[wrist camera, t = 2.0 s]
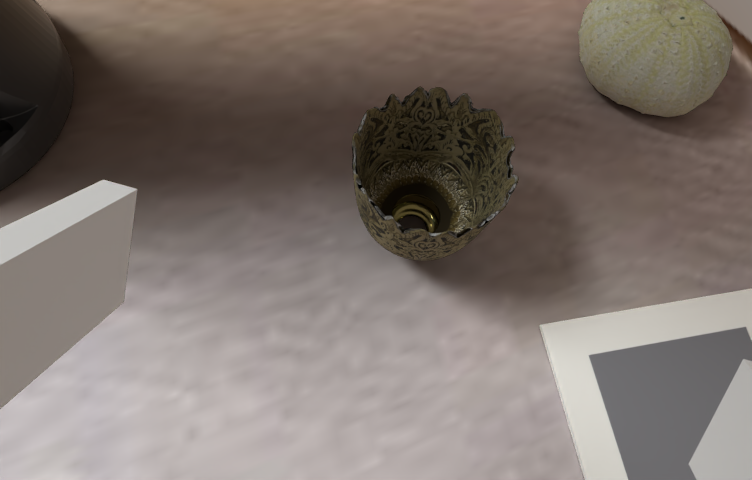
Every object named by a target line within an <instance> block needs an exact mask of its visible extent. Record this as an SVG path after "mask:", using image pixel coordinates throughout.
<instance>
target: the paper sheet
mask: <svg viewBox="0 0 752 480" xmlns="http://www.w3.org/2000/svg"><path fill="white" fill-rule="evenodd" d="M539 327H540V331H541V334H542V337H543V341H544V344H545V347H546V351H547V354H548V358H549V361H550V364H551V368H552V371H553V375H554V378H555V381H556V385H557V388H558V391H559V395H560V398H561V402H562V405H563V408H564V412H565V415H566V419H567V422H568V425H569V429H570V432H571V436H572V439H573V442H574V446H575V449H576V452H577V456H578V459H579V463H580V466H581V469H582V473H583V476H584V480H696V478H695V476H694V474H693V472H692V470H691V468H690V466H689V462H690V460H691V458H692V456H693V454H694V453H695V451H696V449H697V447H698V445H699V443H700V441H701V439H702V437H703V435H704V433H705V431H706V429H707V428H708V426H709V424H710V422H711V420H712V418H713V416H714V414H715V412H716V410H717V408H718V406H719V405H720V403H721V401H722V399H723V397H724V395H725V393H726V391H727V389H728V387H729V385H730V383H731V381H732V380H733V378H734V376H735V374H736V372H737V370H738V368H739V366H740V364H741V362H742V360H743V359H746V360H749V361H752V288H751V289H745V290H739V291H734V292H728V293H722V294H716V295H710V296H704V297H699V298H693V299H687V300H681V301H675V302H669V303H663V304H658V305H652V306H646V307H640V308H634V309H628V310H623V311H617V312H611V313H605V314H599V315H593V316H588V317H582V318H576V319H570V320H564V321H558V322H553V323H547V324H541V325H540V326H539Z"/></svg>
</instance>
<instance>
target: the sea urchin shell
mask: <svg viewBox="0 0 752 480" xmlns="http://www.w3.org/2000/svg"><path fill="white" fill-rule="evenodd" d="M716 13H717V11H715V10H713V9H712V8H711V7H710V6H708V5H707V4H706V3H705V2H704V1H703V0H593V1H591V3H590V4H588V7H587V8H585V12H584V13H583V14H584V15H583V18H582V23H581V26H580V30H579V32H578V35H579V42H580V43H579V47H580V56H579V57H580V58H581V59H580V62H581V63H582V65H583V68H584V70H585V73H586V76H587V78H588V80H589V82H590V83H591V84H592V85H593V86H594V87H595V88H596V89H597V91H598V92H600V93H602V94H603V95H605V96H607V97H609V98H610V99H612V100H613V101H615V102H616V103H617V104H621V105H624V106H627V107H630V108H633V109H635V110H636V111H639V112H641V113H642V114H644V113H646V114H650V115H657V116H662V117H671V116H678V115H685V114H686V113H689V112H690V111H692V110H693V109H695V108H696V107H697V106H698V105H700V104H702V103H703V102H705V101H708V99H709V98H710V97H712V96H713V93H714V91H715V90H716V89H717V87H718V86H719V84H720V83H721V81H722V80H723V78H724V77H725V76H726V75H727V73H726V72H727V70H728V69H729V63H730V57H731V52H732V50H733V48H732V47H733V45H732V39H731V37H730V34H729V31H728V29H727V27H726V26H725V25H724V23H723V22H722V20H721V19H720V18H719V17H718V15H717V14H716Z"/></svg>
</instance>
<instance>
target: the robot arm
mask: <svg viewBox="0 0 752 480" xmlns="http://www.w3.org/2000/svg"><path fill="white" fill-rule="evenodd" d="M73 87H74V79H73V70H72V65H71V61H70V57H69V55H68V52H67V50H66V48H65V46H64V44H63V42H62V40H61V38H60V36H59V34H58V33H57V31H56V29H55V27H54V25H53V23H52V21H51V20H50V18H49V17H48V15H47V14H46V13H45V11H44V10H43V9H42V8H41V6H40V5H39V4H38V3H37V2H36V1H35V0H0V190H2V189H3V188H5V187H6V186H8V185H9V184H11V183H12V182H14V181H15V180H17V179H18V178H19V177H21V176H22V175H23V174H24V173H26V172H27V171H28V170H29V169H30V168H31V167H32V166H33V165H34V164H36V163H37V161H38V160H39V159H40V158H41V157H42V156H43V155H44V154H45V153H46V151H47V150H48V149H49V148H50V146H51V145H52V144H53V142H54V141H55V139H56V138H57V136H58V134H59V133H60V131H61V129H62V127H63V125H64V123H65V121H66V118H67V116H68V113H69V110H70V106H71V102H72V97H73ZM136 197H137V189H135V188H132V187H128V186H125V185H121V184H117V183H114V182H110V181H107V180H101V181H99V182H97V183H95V184H93V185H91V186H89V187H86V188H84V189H82V190H80V191H78V192H76V193H74V194H72V195H70V196H67V197H65V198H63V199H61V200H59V201H57V202H55V203H53V204H51V205H48V206H46V207H44V208H42V209H40V210H38V211H36V212H34V213H32V214H29V215H27V216H25V217H23V218H21V219H19V220H17V221H15V222H13V223H10V224H8V225H6V226H4V227H2V228H0V409H1V408H2V407H3V406H4V405H6V404H7V403H8V402H9V401H10V400H11V399H12V398H14V397H15V396H16V395H17V394H18V393H19V392H21V391H22V390H23V389H24V388H25V387H26V386H27V385H29V384H30V383H31V382H32V381H33V380H34V379H36V378H37V377H38V376H39V375H40V374H41V373H43V372H44V371H45V370H46V369H47V368H48V367H49V366H51V365H52V364H53V363H54V362H55V361H56V360H58V359H59V358H60V357H61V356H62V355H63V354H64V353H66V352H67V351H68V350H69V349H70V348H71V347H73V346H74V345H75V344H76V343H77V342H78V341H80V340H81V339H82V338H83V337H84V336H85V335H86V334H88V333H89V332H90V331H91V330H92V329H93V328H95V327H96V326H97V325H98V324H99V323H100V322H101V321H103V320H104V319H105V318H106V317H107V316H108V315H110V314H111V313H112V312H113V311H114V310H115V309H116V308H118V307H119V306H120V305H121V304H122V303H123V302H124V296H125V288H126V280H127V271H128V263H129V255H130V247H131V238H132V230H133V222H134V214H135V205H136ZM689 466H690V468H691V470H692V472H693V474H694V476H695V478H696V480H752V361H749V360H746V359H743V360H742V362H741V364H740V366H739V368H738V370H737V372H736V374H735V376H734V378H733V380H732V381H731V383H730V385H729V387H728V389H727V391H726V393H725V395H724V397H723V399H722V401H721V403H720V405H719V406H718V408H717V410H716V412H715V414H714V416H713V418H712V420H711V422H710V424H709V426H708V428H707V429H706V431H705V433H704V435H703V437H702V439H701V441H700V443H699V445H698V447H697V449H696V451H695V453H694V454H693V456H692V458H691V460H690V462H689Z"/></svg>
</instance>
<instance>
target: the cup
mask: <svg viewBox="0 0 752 480" xmlns="http://www.w3.org/2000/svg"><path fill="white" fill-rule="evenodd" d="M455 101H456V102H455ZM455 101H454V102H453V103H454V104H453V103H451V102H450V98H449V95H448V93H447V91H446V90H444V89H443V88H440V87H436V88H433V89H430V90H429V92H428V93H427V91H425V90H424V89H423V88H422V87H421V86H420V87H418V88H417V89H415V90H414V91H413V92H412V93H411V94H410V95H408V96H406V97H405V98H404V100H403V102H402V103H401V102H400V100H399V99H398V97H397V96H396V95H395V94H391V95H390V96H389V98H388V100H387V102H386V104H385V106H384V107H382V108H378V107H374V108H372V109H370V110H367V111H366V113H365V114H364V116H363V118H362V121H361V124H360V126H359V128H358V131H357V133H356V132H355V133H354V135H353V139H352V151H353V163H352V169H353V177H354V186H355V194H356V200H357V205H358V209H359V212H360V216H361V218H362V220H363V223H364V224H365V226H366V228H367V230H368V231H369V233H370V234H371V236H372V237H373V238H374V239H375V240H376V241H377V242H378V243H379V244H380V245H381V246H383V247H384V248H385V249H387V250H388V251H390V252H392V253H394V254H396V255H398V256H401V257H404V258H407V259H412V260H435V259H439V258H443V257H446V256H448V255H450V254H453V253H455V252H457V251H458V250H460V249H461V248H463V247H464V246H466V245H467V244H468V243H469V242H471V241H472V240H473V239H474V238H475V237H476V236H477V235H478V234H479V233H480V232H481V231H482V230H483V229H484V228H485V227H486V226H487V225H488V224H489V223H490V222H491V220H492V219H493V218H494V217H495V216H496V215H497V214H499V213H500V212H501V211H502V210H503V209H504V208H505V206H506V205H507V203H508V201H509V197H510V195H511V194H512V192H513V191H514V189H515V187H516V185H517V183H518V180H519V178H518V176H516V175H515V174H513V176H512V171H513V166H512V165H511V161H510V158H511V155H512V152H513V151H514V150H515V144H514V139H513V137H511V136H505V134H504V128H503V124H502V122H501V120H500V118H499V116H498V115H497V113H496V112H495V111H494V110H492V109H475V108H473V107H472V106H471V104H473V103H472V101H471V98H470V97H469V96H468V94H466V93H463V94H462V95H461V96H459V97H458V98H457V99H456V100H455ZM472 108H473V109H472ZM408 215H414V216H417V217H419V218H421V219H422V220H423V221H424V222H425V224H426V228H427V231H426V230H424V229H412V228H408V229H403V227H402V226H401V225H400V224H399V223H398V222H399V221H400V219H401V218H403V217H405V216H408Z"/></svg>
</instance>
